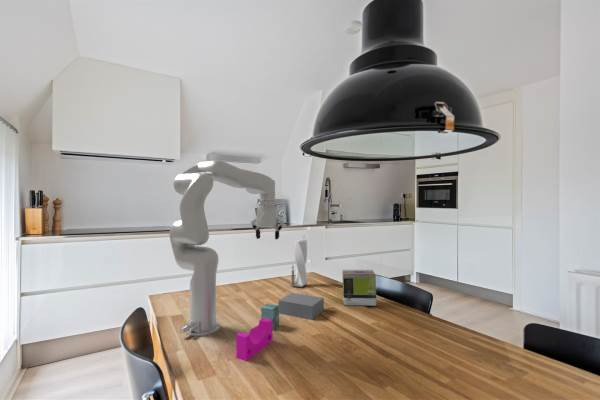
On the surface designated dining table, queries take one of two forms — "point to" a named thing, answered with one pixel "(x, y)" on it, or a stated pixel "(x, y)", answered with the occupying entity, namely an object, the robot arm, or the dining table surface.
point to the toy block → (254, 339)
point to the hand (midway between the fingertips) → (267, 238)
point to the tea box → (359, 287)
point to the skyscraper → (300, 263)
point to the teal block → (271, 313)
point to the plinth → (301, 306)
